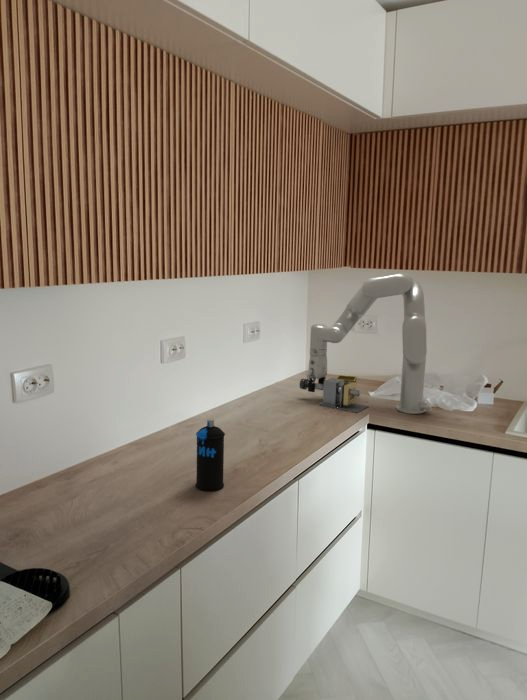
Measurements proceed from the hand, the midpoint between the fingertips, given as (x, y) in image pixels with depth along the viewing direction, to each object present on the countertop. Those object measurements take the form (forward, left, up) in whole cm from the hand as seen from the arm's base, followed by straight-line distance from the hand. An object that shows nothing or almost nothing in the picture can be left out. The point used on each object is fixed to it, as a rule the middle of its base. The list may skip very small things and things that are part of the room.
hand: (316, 389), depth 266 cm
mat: (-18, 0, -5) cm, 19 cm away
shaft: (-7, 0, -1) cm, 7 cm away
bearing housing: (-9, 0, -5) cm, 10 cm away
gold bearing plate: (-17, 0, -3) cm, 17 cm away
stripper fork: (-14, 0, -5) cm, 15 cm away
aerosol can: (-21, +103, -6) cm, 105 cm away
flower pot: (-7, -17, -6) cm, 19 cm away
